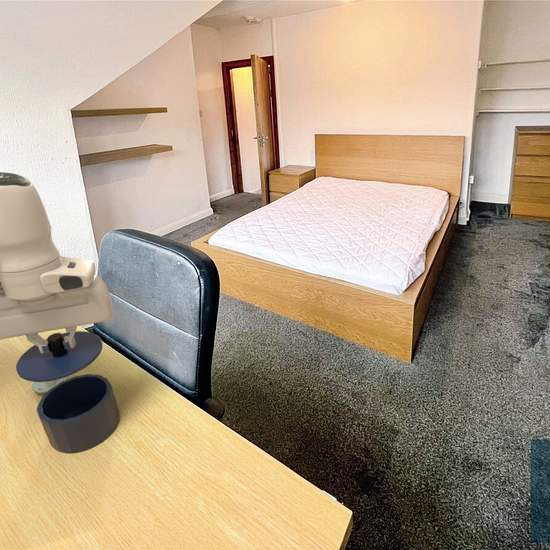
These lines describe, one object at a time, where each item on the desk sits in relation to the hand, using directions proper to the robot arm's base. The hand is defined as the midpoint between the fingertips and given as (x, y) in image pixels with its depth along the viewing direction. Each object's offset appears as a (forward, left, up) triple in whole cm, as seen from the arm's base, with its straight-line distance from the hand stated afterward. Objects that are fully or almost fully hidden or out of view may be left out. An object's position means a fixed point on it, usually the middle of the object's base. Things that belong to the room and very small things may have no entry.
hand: (59, 349), depth 70 cm
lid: (0, 0, -1) cm, 1 cm away
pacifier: (-9, +15, -19) cm, 26 cm away
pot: (0, 0, -19) cm, 19 cm away
